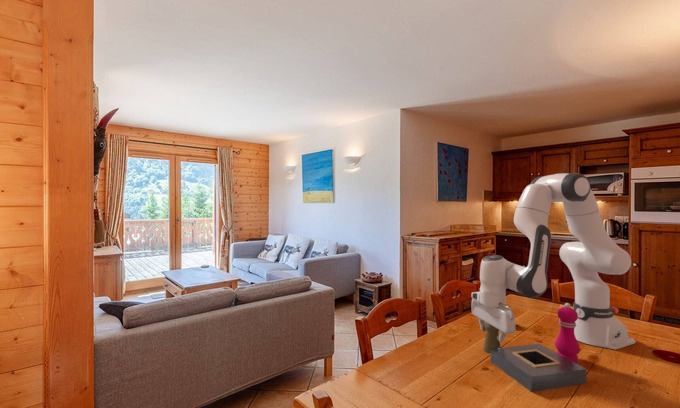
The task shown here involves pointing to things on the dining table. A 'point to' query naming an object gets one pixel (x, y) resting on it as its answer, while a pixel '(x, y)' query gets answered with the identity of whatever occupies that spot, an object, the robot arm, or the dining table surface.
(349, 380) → the dining table surface
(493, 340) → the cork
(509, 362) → the block
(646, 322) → the dining table surface
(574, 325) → the pepper mill
